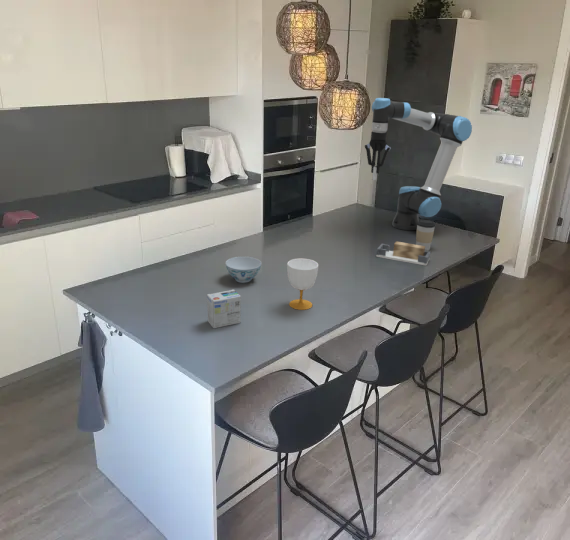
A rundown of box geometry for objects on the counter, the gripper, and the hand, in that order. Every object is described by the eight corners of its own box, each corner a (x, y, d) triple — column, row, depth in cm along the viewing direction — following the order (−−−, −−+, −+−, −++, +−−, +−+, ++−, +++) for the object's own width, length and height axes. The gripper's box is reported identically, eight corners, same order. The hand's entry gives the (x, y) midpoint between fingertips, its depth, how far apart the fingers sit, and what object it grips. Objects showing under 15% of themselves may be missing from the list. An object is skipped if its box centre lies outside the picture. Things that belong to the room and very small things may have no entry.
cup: (291, 296, 215) (293, 256, 209) (319, 301, 211) (322, 261, 205) (281, 307, 205) (282, 266, 198) (310, 314, 201) (312, 271, 195)
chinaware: (221, 275, 233) (221, 258, 230) (254, 271, 238) (254, 254, 235) (231, 288, 220) (231, 271, 217) (265, 284, 225) (266, 267, 222)
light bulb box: (234, 315, 198) (234, 288, 194) (241, 323, 193) (241, 295, 188) (206, 320, 193) (206, 293, 189) (213, 329, 188) (213, 301, 184)
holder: (380, 251, 268) (381, 243, 266) (429, 259, 259) (430, 251, 258) (376, 256, 260) (377, 248, 259) (426, 265, 251) (427, 257, 250)
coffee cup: (432, 252, 269) (436, 223, 263) (413, 250, 270) (417, 221, 265) (431, 246, 277) (435, 218, 271) (413, 244, 279) (417, 216, 273)
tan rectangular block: (392, 255, 260) (394, 243, 257) (394, 252, 263) (396, 241, 261) (421, 260, 255) (423, 248, 252) (423, 258, 258) (425, 246, 256)
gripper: (364, 131, 260) (359, 179, 269) (390, 133, 255) (385, 182, 264) (368, 129, 267) (364, 176, 275) (394, 131, 262) (389, 179, 271)
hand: (374, 179), depth 270 cm, fingers closed
